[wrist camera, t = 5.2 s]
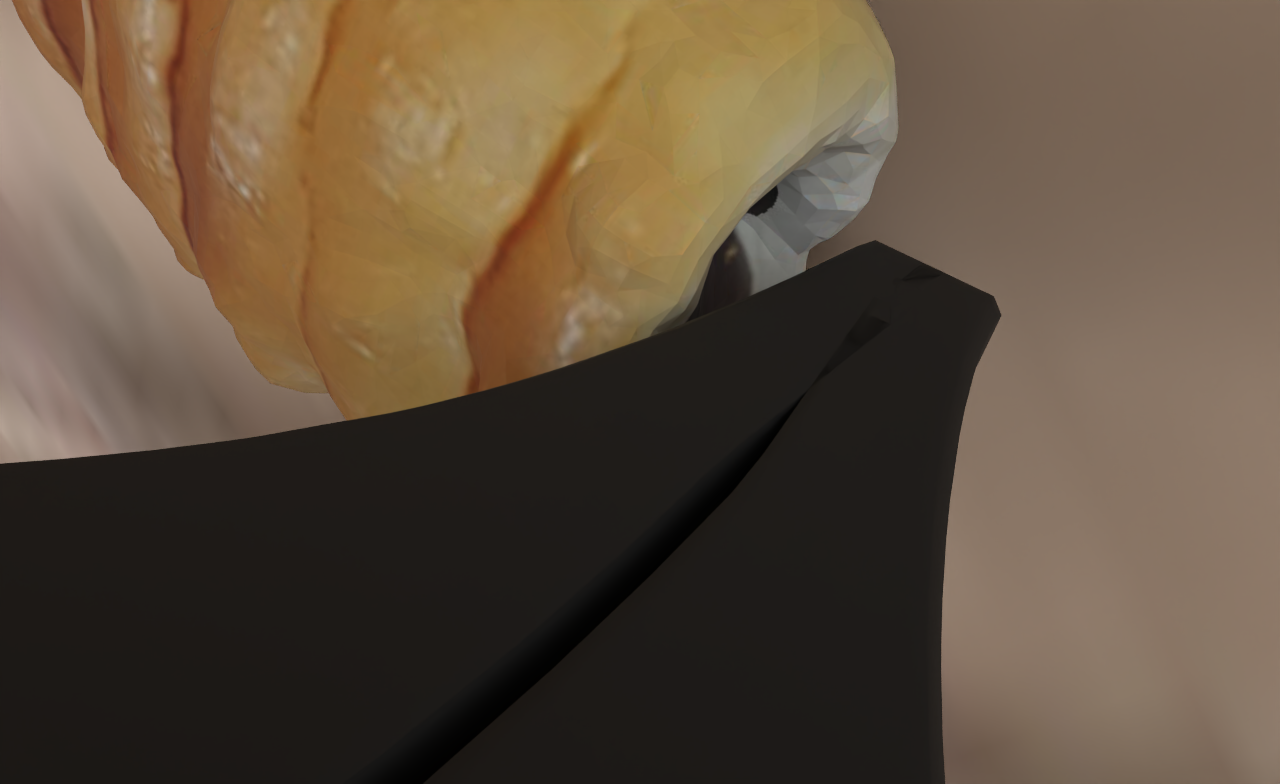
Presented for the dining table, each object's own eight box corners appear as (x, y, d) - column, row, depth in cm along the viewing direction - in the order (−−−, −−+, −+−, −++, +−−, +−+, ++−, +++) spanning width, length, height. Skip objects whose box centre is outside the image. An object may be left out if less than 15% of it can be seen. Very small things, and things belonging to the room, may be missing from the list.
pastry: (166, 88, 15) (-119, 204, 12) (108, -555, 10) (-384, -583, 7) (746, 480, 12) (546, 721, 10) (1039, -101, 8) (796, 81, 5)
